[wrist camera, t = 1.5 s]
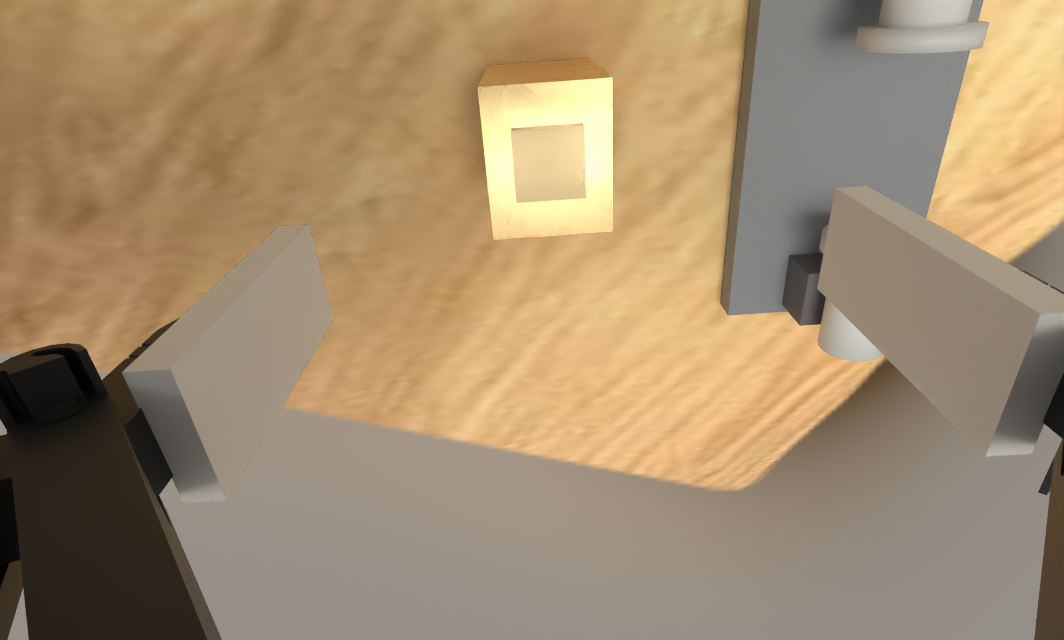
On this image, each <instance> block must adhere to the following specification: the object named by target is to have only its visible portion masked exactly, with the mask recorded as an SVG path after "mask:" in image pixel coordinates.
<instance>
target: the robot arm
mask: <svg viewBox="0 0 1064 640" xmlns="http://www.w3.org/2000/svg"><path fill="white" fill-rule="evenodd" d="M817 289H818V290H819V291H820V292H821V293H822V294H823V295H824V296H825V297H826V298H827V299H828V300H829V301H830V302H831V303H832V304H833V305H834V306H835V307H836V308H837V309H838V310H839V311H840V312H841V313H842V314H843V315H844V316H845V317H846V318H847V319H848V320H849V321H850V322H851V323H852V324H853V325H854V326H855V327H856V328H857V329H858V330H859V331H860V332H861V333H862V334H863V335H864V336H865V337H866V338H867V339H868V340H869V341H870V342H871V343H872V344H873V345H874V346H875V347H876V348H877V349H878V350H879V351H880V352H881V353H882V354H883V355H884V356H885V357H886V358H887V359H888V360H889V361H890V362H891V363H892V364H893V365H894V366H895V367H896V368H897V369H898V370H899V371H900V372H901V373H902V374H903V375H904V376H905V377H906V378H907V379H908V380H909V381H910V382H911V383H912V384H913V385H914V386H915V387H916V388H918V390H919V391H920V392H921V393H922V394H923V395H924V396H925V397H926V398H927V399H928V400H929V401H931V403H932V404H933V405H935V407H936V408H937V409H938V410H940V412H941V413H942V414H943V415H944V416H945V417H946V418H948V420H950V421H951V422H952V424H954V425H955V426H956V427H957V429H958V430H960V432H961V433H963V434H964V435H965V436H966V437H967V438H968V439H969V440H970V441H971V442H972V443H973V444H974V445H975V446H976V447H977V448H978V449H979V450H980V451H981V452H982V453H983V454H984V455H985V456H1000V455H1001V456H1002V455H1019V454H1031V453H1032V450H1033V448H1034V446H1035V444H1036V441H1037V439H1038V437H1039V434H1040V432H1041V430H1042V427H1043V425H1044V424H1045V425H1047V426H1048V427H1049V428H1050V429H1051V430H1053V431H1054V432H1055V433H1057V434H1058V435H1059V436H1060V437H1061V438H1062V442H1061V444H1060V446H1059V448H1058V450H1057V453H1056V455H1055V457H1054V459H1053V461H1052V463H1051V466H1050V468H1049V470H1048V472H1047V474H1046V476H1045V479H1044V481H1043V483H1042V485H1041V487H1040V490H1039V493H1042V494H1045V495H1047V494H1048V493H1049V491H1050V500H1049V508H1048V518H1047V527H1046V536H1045V545H1044V555H1043V564H1042V574H1041V583H1040V592H1039V601H1038V610H1037V619H1036V630H1035V638H1034V640H1064V292H1062V291H1060V290H1058V289H1057V288H1055V287H1053V286H1048V284H1047V283H1046V282H1044V281H1042V280H1040V279H1038V278H1036V277H1035V276H1033V275H1031V274H1029V273H1027V272H1025V271H1022V270H1019V269H1017V268H1015V267H1013V266H1011V265H1009V264H1008V263H1006V262H1004V261H1002V260H1000V259H999V258H997V257H995V256H993V255H991V254H989V253H988V252H986V251H984V250H982V249H980V248H979V247H977V246H975V245H973V244H971V243H970V242H968V241H966V240H964V239H962V238H960V237H959V236H957V235H955V234H953V233H951V232H950V231H948V230H946V229H944V228H942V227H940V226H939V225H937V224H935V223H933V222H931V221H930V220H928V219H926V218H924V217H922V216H921V215H919V214H917V213H915V212H913V211H911V210H910V209H908V208H906V207H904V206H902V205H901V204H899V203H897V202H895V201H893V200H891V199H890V198H888V197H886V196H884V195H882V194H881V193H879V192H877V191H875V190H873V189H872V188H870V187H868V186H856V187H841V188H835V192H834V197H833V203H832V209H831V214H830V220H829V225H828V231H827V237H826V242H825V248H824V253H823V259H822V264H821V270H820V276H819V281H818V287H817ZM332 322H333V316H332V312H331V308H330V304H329V300H328V296H327V292H326V289H325V285H324V281H323V277H322V273H321V269H320V265H319V262H318V258H317V254H316V250H315V246H314V242H313V238H312V234H311V231H310V227H309V224H304V225H289V226H278V227H277V228H276V229H275V230H274V231H273V232H272V233H271V234H270V235H269V236H268V237H267V238H266V239H265V240H263V241H262V242H261V243H260V244H259V245H258V246H257V247H256V248H255V249H254V250H253V251H252V252H251V253H249V254H248V255H247V256H246V257H245V258H244V259H243V260H242V261H241V262H240V263H239V264H238V265H237V266H235V267H234V268H233V269H232V270H231V271H230V272H229V273H228V274H227V275H226V276H225V277H224V278H223V279H222V280H220V281H219V282H218V283H217V284H216V285H215V286H214V287H213V288H212V289H211V290H210V291H209V292H208V293H206V294H205V295H204V296H203V297H202V298H201V299H200V300H199V301H198V302H197V303H196V304H195V305H194V306H193V307H191V308H190V309H189V310H188V311H187V312H186V313H185V314H184V315H183V316H182V317H180V318H178V319H177V320H175V321H173V322H171V323H169V324H167V325H166V326H164V327H162V328H160V329H158V330H157V331H156V332H155V333H154V334H152V335H151V336H150V337H149V338H148V339H147V340H146V341H145V342H144V343H143V344H142V347H138V348H137V349H136V350H135V351H134V352H133V353H132V354H130V355H129V358H127V359H125V360H124V361H123V362H122V363H120V364H119V365H118V366H117V367H116V368H115V369H114V370H113V371H112V372H111V373H109V374H108V375H107V376H106V377H105V378H104V379H103V380H101V378H100V376H99V374H98V372H97V370H96V368H95V366H94V364H93V362H92V360H91V358H90V356H89V354H88V352H87V350H86V349H85V348H84V347H83V346H81V345H79V344H70V343H66V344H57V345H50V346H46V347H42V348H38V349H34V350H31V351H28V352H25V353H23V354H20V355H17V356H15V357H12V358H10V359H8V360H6V361H4V362H3V363H1V364H0V419H1V421H2V423H3V424H4V426H5V428H6V429H7V434H6V435H2V436H0V640H7V639H8V636H9V632H10V629H11V626H12V622H13V619H14V616H15V612H16V609H17V605H18V602H19V599H20V596H21V592H22V589H23V588H24V598H25V607H26V616H27V626H28V635H29V640H222V639H221V637H220V634H219V632H218V630H217V627H216V625H215V623H214V620H213V618H212V616H211V613H210V611H209V609H208V606H207V604H206V602H205V599H204V597H203V595H202V592H201V590H200V588H199V585H198V583H197V581H196V578H195V576H194V574H193V571H192V569H191V566H190V564H189V562H188V560H187V557H186V555H185V553H184V550H183V548H182V545H181V543H180V541H179V538H178V536H177V534H176V531H175V529H174V527H173V524H172V522H171V520H170V517H169V515H168V513H167V510H166V508H165V506H164V504H163V502H162V500H161V498H160V496H159V494H160V493H161V492H162V490H163V489H164V488H165V486H166V485H167V483H168V482H169V481H170V479H171V478H172V479H173V481H174V483H175V486H176V488H177V490H178V492H179V494H180V496H181V498H182V500H183V502H184V503H194V502H195V503H196V502H213V501H227V500H228V498H229V496H230V495H231V493H232V491H233V489H234V488H235V486H236V484H237V483H238V481H239V479H240V478H241V476H242V474H243V472H244V471H245V469H246V467H247V466H248V464H249V462H250V461H251V459H252V457H253V456H254V454H255V452H256V450H257V449H258V447H259V446H260V444H261V442H262V440H263V439H264V437H265V435H266V434H267V432H268V430H269V429H270V427H271V425H272V423H273V421H274V420H275V418H276V417H277V415H278V413H279V412H280V410H281V408H282V407H283V405H284V403H285V402H286V400H287V398H288V396H289V395H290V393H291V391H292V390H293V388H294V386H295V385H296V383H297V381H298V380H299V378H300V376H301V375H302V373H303V371H304V369H305V368H306V366H307V364H308V363H309V361H310V359H311V358H312V356H313V354H314V353H315V351H316V349H317V347H318V346H319V344H320V342H321V341H322V339H323V337H324V336H325V334H326V332H327V331H328V329H329V327H330V326H331V324H332Z"/></svg>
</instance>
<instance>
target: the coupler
mask: <svg viewBox="0 0 1064 640" xmlns="http://www.w3.org/2000/svg"><path fill="white" fill-rule="evenodd" d="M477 88H478V98H479V108H480V117H481V127H482V136H483V146H484V156H485V165H486V175H487V184H488V194H489V204H490V213H491V223H492V232H493V240H498V239H512V238H527V237H541V236H556V235H570V234H585V233H599V232H613V102H612V77H611V76H610V75H609V74H608V73H607V72H606V71H605V70H603V69H602V68H601V67H600V66H599V65H598V64H597V63H596V62H594V61H593V60H592V59H591V58H580V59H567V60H553V61H540V62H526V63H513V64H499V65H488V66H487V68H486V70H485V72H484V75H483V77H482V79H481V81H480V83H479V85H478V87H477Z"/></svg>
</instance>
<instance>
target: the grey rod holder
mask: <svg viewBox="0 0 1064 640" xmlns="http://www.w3.org/2000/svg"><path fill="white" fill-rule="evenodd" d="M982 4H983V0H750V2H749V12H748V23H747V33H746V43H745V54H744V64H743V75H742V85H741V95H740V106H739V116H738V127H737V137H736V147H735V158H734V168H733V179H732V189H731V199H730V210H729V220H728V231H727V241H726V251H725V262H724V272H723V282H722V293H721V305H722V307H723V308H724V310H725V311H726V313H727V314H728V315H740V314H755V313H770V312H785V311H788V312H789V313H790V314H791V315H792V317H793V318H794V319H795V320H796V321H797V323H798V324H799V325H815V324H821V326H820V331H819V336H818V345H819V346H820V348H821V349H822V350H824V351H825V352H826V353H828V354H830V355H832V356H834V357H837V358H840V359H844V360H849V361H871V360H874V359H877V358H879V357H880V356H881V355H882V353H881V352H880V351H879V350H878V349H877V348H876V347H875V346H874V345H873V344H872V343H871V342H870V341H869V340H868V339H867V338H866V337H865V336H864V335H863V334H862V333H861V332H860V331H859V330H858V329H857V328H856V327H855V326H854V325H853V324H852V323H851V322H850V321H849V320H848V319H847V318H846V317H845V316H844V315H843V314H842V313H841V312H840V311H839V310H838V309H837V308H836V307H835V306H834V305H833V304H832V303H831V302H830V301H829V300H828V299H827V298H826V297H825V296H824V295H823V294H822V293H821V292H820V291H819V290H818V289H817V287H818V281H819V276H820V270H821V264H822V259H823V253H824V248H825V242H826V237H827V231H828V225H829V220H830V214H831V209H832V203H833V197H834V192H835V188H841V187H856V186H868V187H870V188H872V189H873V190H875V191H877V192H879V193H881V194H882V195H884V196H886V197H888V198H890V199H891V200H893V201H895V202H897V203H899V204H901V205H902V206H904V207H906V208H908V209H910V210H911V211H913V212H915V213H917V214H919V215H921V216H922V217H924V218H926V217H927V213H928V209H929V205H930V201H931V198H932V194H933V190H934V186H935V182H936V179H937V175H938V171H939V167H940V163H941V160H942V156H943V152H944V148H945V144H946V141H947V137H948V133H949V129H950V125H951V122H952V118H953V114H954V110H955V106H956V102H957V99H958V95H959V91H960V87H961V83H962V80H963V76H964V72H965V68H966V64H967V61H968V57H969V53H970V50H973V49H978V48H981V47H983V44H984V40H985V36H986V33H987V29H988V25H989V22H984V21H978V19H979V15H980V11H981V7H982Z"/></svg>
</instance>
